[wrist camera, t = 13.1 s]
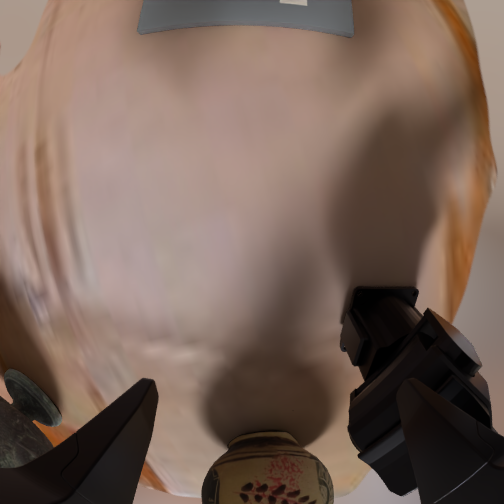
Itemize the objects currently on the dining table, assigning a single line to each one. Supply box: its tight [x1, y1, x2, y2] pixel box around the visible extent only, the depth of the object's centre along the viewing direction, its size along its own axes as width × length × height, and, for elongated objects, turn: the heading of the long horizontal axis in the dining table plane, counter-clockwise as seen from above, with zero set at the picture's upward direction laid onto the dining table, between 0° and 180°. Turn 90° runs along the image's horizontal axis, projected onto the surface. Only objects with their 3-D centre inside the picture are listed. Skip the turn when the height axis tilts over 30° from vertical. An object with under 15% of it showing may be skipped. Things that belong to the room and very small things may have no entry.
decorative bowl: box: [0, 369, 62, 468], centre depth 21 cm, size 26×26×20 cm
